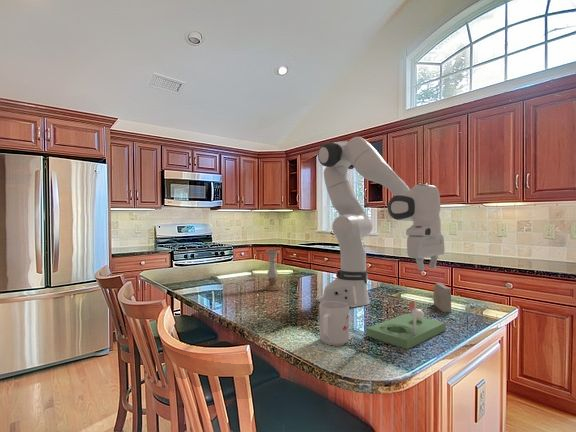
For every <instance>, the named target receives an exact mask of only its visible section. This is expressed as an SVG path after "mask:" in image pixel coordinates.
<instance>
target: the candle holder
mask: <svg viewBox="0 0 576 432" xmlns="http://www.w3.org/2000/svg"><path fill="white" fill-rule="evenodd" d="M280 251H281V250H277V249H267V250H265V253H266V254H268V257H269V260H268V262H269V268H268V270H267V277H268V279H267V281H268V284H266V285H265V286H264V287H263V288H264V291H266V290H268V292H277V291H276V290H278V291H281V290H282V287H281V286H280V284H278V283H277V281H278V279H277V277H278V270H277V268H276V262H277V259H276V257H277V254H279V253H280ZM280 289H281V290H280Z"/></svg>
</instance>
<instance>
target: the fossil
mask: <svg viewBox="0 0 576 432" xmlns="http://www.w3.org/2000/svg"><path fill="white" fill-rule="evenodd" d="M451 290H452V289H451V288H450V287H448V286H446V285H445V284H444V283H442V282H435V285H434V288H433V298H432V299H433V305H434V306H435V307H436V308H437V309H438V310H440V311H441V312H442V313H452V291H451Z"/></svg>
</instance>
